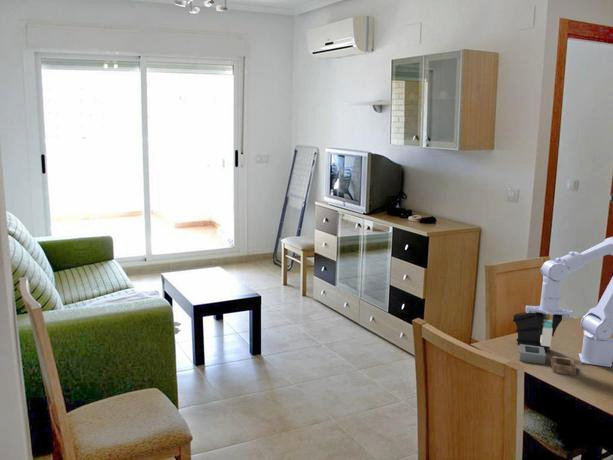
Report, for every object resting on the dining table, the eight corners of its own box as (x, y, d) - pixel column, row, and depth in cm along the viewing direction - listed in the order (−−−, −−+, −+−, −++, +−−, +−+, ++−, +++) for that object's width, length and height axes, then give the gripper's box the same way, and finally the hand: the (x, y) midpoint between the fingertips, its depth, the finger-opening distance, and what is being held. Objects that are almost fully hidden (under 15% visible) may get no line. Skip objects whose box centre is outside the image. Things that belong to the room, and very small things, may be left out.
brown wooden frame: (572, 365, 194) (573, 358, 194) (574, 375, 187) (575, 368, 187) (551, 362, 196) (551, 356, 196) (553, 372, 189) (553, 365, 189)
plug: (549, 342, 197) (551, 320, 195) (550, 346, 193) (553, 324, 192) (540, 341, 198) (542, 319, 196) (541, 345, 194) (543, 323, 193)
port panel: (543, 355, 203) (543, 347, 202) (544, 364, 195) (545, 355, 195) (519, 351, 205) (519, 344, 205) (519, 360, 198) (520, 352, 197)
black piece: (557, 350, 203) (542, 310, 204) (521, 356, 211) (506, 318, 212) (559, 346, 206) (544, 307, 207) (524, 353, 214) (510, 315, 215)
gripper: (528, 297, 191) (524, 336, 193) (575, 302, 186) (570, 341, 189) (526, 291, 197) (523, 328, 200) (572, 296, 193) (568, 334, 196)
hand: (546, 334), depth 195 cm, fingers closed on plug, 3 cm apart
